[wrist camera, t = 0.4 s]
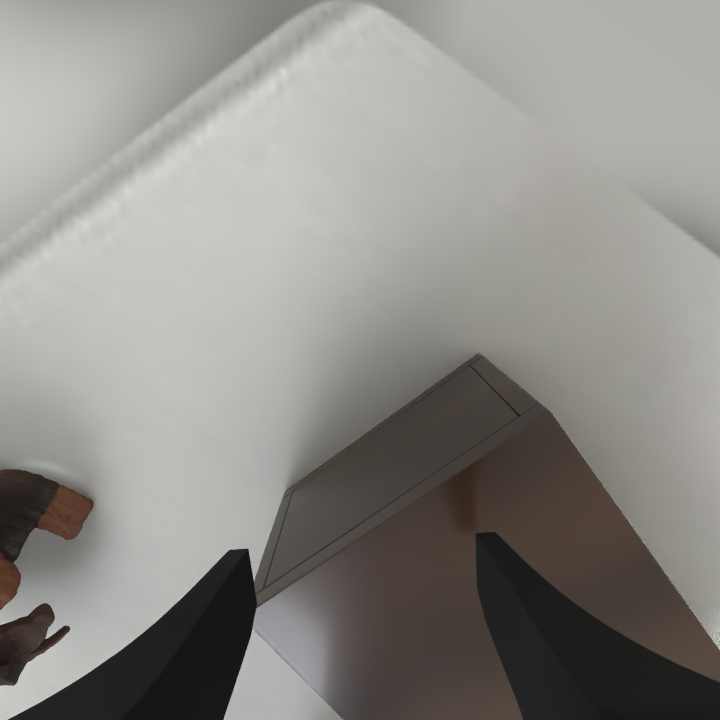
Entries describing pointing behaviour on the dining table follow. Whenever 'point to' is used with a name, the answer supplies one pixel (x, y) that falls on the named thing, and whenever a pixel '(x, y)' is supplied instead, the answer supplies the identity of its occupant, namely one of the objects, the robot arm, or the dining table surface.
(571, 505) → the cabinet
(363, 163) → the dining table surface
